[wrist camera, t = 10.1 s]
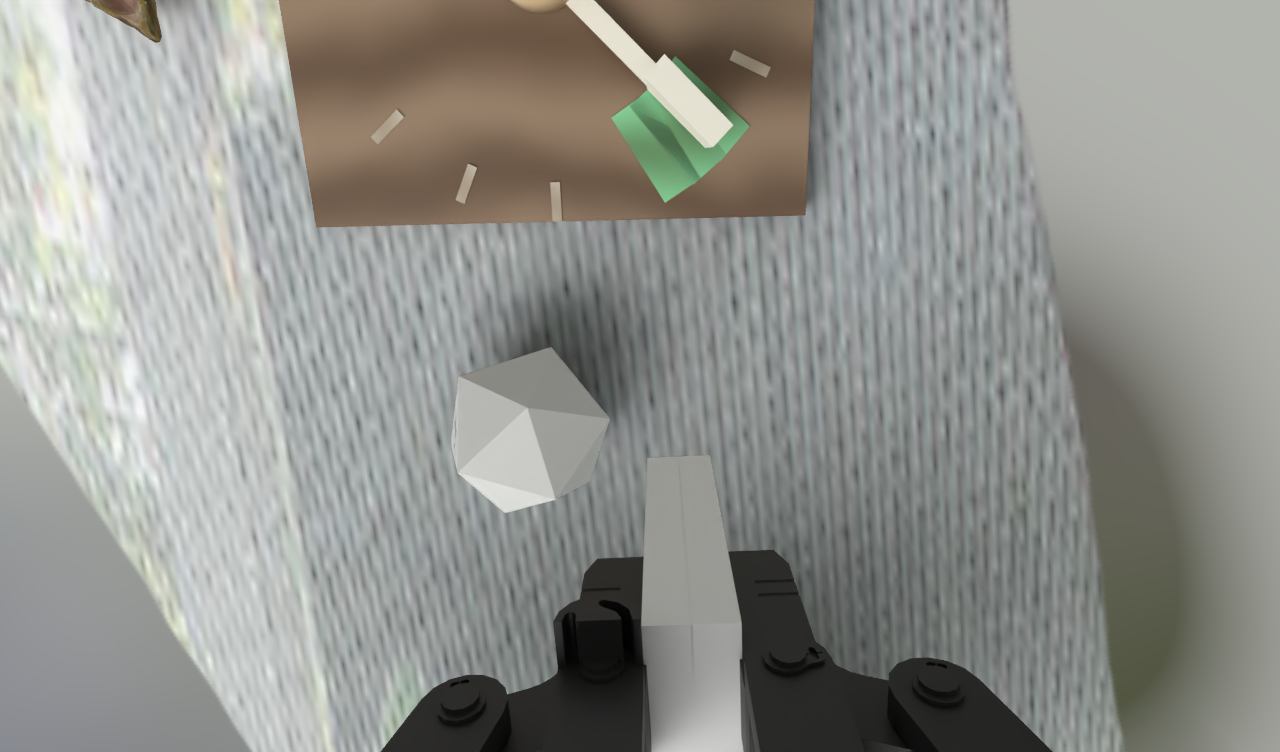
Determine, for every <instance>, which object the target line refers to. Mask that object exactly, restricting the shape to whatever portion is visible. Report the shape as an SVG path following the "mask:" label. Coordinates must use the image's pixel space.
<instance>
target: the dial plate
mask: <svg viewBox="0 0 1280 752" xmlns="http://www.w3.org/2000/svg"><path fill="white" fill-rule="evenodd" d="M594 1H595V2H596V3H597V4H598V5H599V6H600V7H601V8H602V9H603V10H604V11H605V12H606V13H607V14H608V15H609V16H610V17H611V18H612V19H613V20H614V21H615V22H616V23H617V24H618V25H619V26H620V27H621V28H622V29H623V30H624V31H625V32H626V33H627V34H628V35H629V36H630V37H631V39H632V40H633V41H634V42H635V43H636V44H637V45H638V46H639V47H640V48H641V49H642V50H643V51H644V52H645V53H646V54H647V55H648V56H649V57H650V58H651V59H652V60H653V61H654V62H655V63H657V62H658V61H659V59H660V58H661V57H662V56H663V55H664V54H665V55H666V56H667V57H668V58H669V59H670V60H671V61H672V62H673V63H674V64H675V65H676V66H677V67H678V68H679V69H680V70H681V71H682V72H683V74H684V75H685V76H686V77H687V78H688V79H689V80H690V81H691V82H692V83H693V84H694V85H695V86H696V87H697V88H698V89H699V90H700V91H701V92H702V93H703V94H704V95H705V96H706V97H707V98H708V99H709V100H710V101H711V102H712V103H713V105H714V106H715V107H716V108H717V109H718V110H719V111H720V112H721V113H722V114H723V115H724V116H725V117H726V118H727V119H728V120H729V121H730V122H731V123H732V124H733V126H732V127H731V128H730V129H729V130H728V132H727V133H726V134H725V135H724V136H723V137H722V138H721V139H720V140H719V141H718V142H717V143H716V145H715V146H714V147H710V148H704V147H703V146H702V145H701V143H700V142H699V141H698V140H697V139H696V138H695V137H694V136H693V135H692V134H691V133H690V132H689V131H688V130H687V129H686V128H685V127H684V126H683V125H682V124H681V123H680V122H679V121H678V120H677V119H676V118H675V117H674V116H673V115H672V114H671V113H670V112H669V111H668V110H667V109H666V108H665V107H664V106H663V105H662V104H661V103H660V102H659V101H658V100H657V99H656V98H655V97H654V96H653V95H652V94H651V93H650V92H649V91H648V90H647V86H646V85H645V84H644V83H643V82H642V81H641V80H640V79H639V78H638V77H637V76H636V75H635V74H634V73H633V72H632V71H631V70H630V69H629V68H628V67H627V66H626V64H625V63H624V62H623V61H622V60H621V59H620V58H619V57H618V56H617V55H616V54H615V53H614V52H613V51H612V50H611V49H610V48H609V47H608V46H607V45H606V44H605V43H604V42H603V41H602V40H601V39H600V38H599V37H598V36H597V35H596V34H595V33H594V32H593V31H592V30H591V29H590V28H589V27H588V26H587V25H586V24H585V23H584V22H583V21H582V20H581V19H580V18H579V17H578V16H577V15H576V14H575V13H574V12H573V11H572V10H571V9H570V8H569V7H568V6H566V7H565V8H563V9H561V10H559V11H557V12H554V13H550V14H535V13H530V12H527V11H525V10H523V9H521V8H519V7H518V6H516V5H515V4H514V3H513V2H512V1H510V0H279V4H280V10H281V16H282V22H283V28H284V34H285V40H286V46H287V52H288V58H289V65H290V71H291V77H292V83H293V89H294V95H295V101H296V107H297V113H298V119H299V125H300V131H301V137H302V143H303V149H304V155H305V161H306V167H307V174H308V180H309V186H310V192H311V198H312V204H313V210H314V216H315V222H316V227H347V226H388V225H428V224H469V223H510V222H551V221H553V222H556V221H592V220H632V219H673V218H714V217H755V216H796V215H805V212H806V189H807V167H808V144H809V122H810V99H811V76H812V54H813V31H814V9H815V0H594Z"/></svg>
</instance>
